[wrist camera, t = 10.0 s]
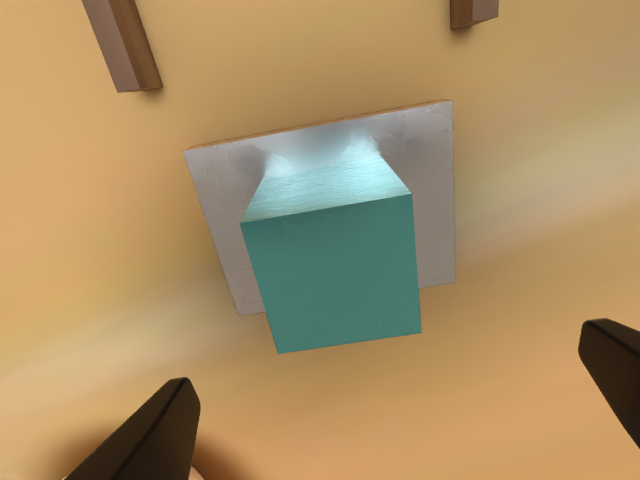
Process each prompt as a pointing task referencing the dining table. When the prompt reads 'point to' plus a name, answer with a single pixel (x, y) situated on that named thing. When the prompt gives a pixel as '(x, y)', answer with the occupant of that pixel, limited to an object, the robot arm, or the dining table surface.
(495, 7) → the walnut channel
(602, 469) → the dining table surface
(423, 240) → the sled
